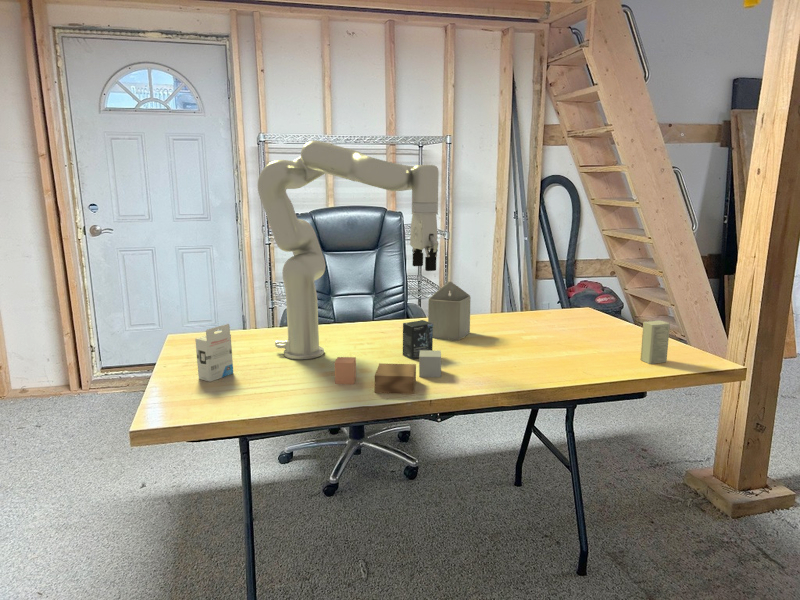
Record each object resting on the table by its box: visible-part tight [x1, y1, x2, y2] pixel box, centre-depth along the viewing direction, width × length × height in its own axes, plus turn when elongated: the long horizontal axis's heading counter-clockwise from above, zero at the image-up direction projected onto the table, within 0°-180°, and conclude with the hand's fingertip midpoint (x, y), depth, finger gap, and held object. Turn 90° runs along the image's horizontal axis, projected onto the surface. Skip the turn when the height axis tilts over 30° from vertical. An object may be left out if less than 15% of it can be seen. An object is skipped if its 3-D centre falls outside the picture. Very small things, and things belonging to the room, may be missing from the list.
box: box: [402, 319, 434, 360], centre depth 175 cm, size 8×6×11 cm
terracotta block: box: [334, 356, 357, 385], centre depth 154 cm, size 5×5×6 cm
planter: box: [427, 280, 471, 341], centre depth 195 cm, size 16×8×19 cm, turn 111°
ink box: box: [194, 323, 234, 383], centre depth 157 cm, size 9×5×15 cm, turn 148°
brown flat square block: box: [374, 362, 417, 395], centre depth 149 cm, size 10×10×5 cm
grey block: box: [418, 349, 442, 378], centre depth 159 cm, size 6×6×6 cm
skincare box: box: [640, 319, 671, 365], centre depth 168 cm, size 6×4×12 cm
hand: (424, 268), depth 165 cm, fingers open, 9 cm apart
